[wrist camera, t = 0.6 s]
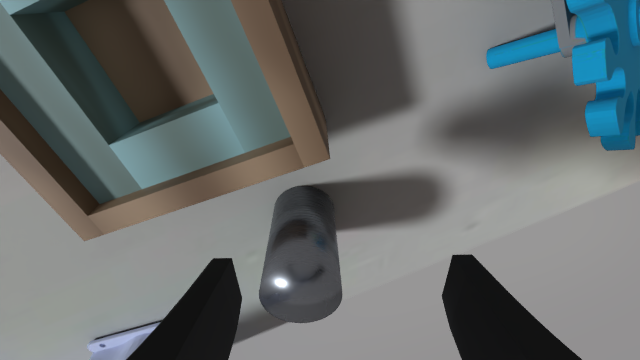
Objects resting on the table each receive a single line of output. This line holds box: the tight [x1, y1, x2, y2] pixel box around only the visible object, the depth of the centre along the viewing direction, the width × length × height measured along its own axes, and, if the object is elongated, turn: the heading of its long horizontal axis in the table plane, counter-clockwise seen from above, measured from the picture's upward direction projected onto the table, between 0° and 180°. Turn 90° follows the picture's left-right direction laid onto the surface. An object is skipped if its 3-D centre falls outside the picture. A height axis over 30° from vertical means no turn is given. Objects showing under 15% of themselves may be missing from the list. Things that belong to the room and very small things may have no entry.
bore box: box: [0, 0, 330, 241], centre depth 14 cm, size 13×13×5 cm
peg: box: [259, 186, 342, 323], centre depth 18 cm, size 4×4×7 cm
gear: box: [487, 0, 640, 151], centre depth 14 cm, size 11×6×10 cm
